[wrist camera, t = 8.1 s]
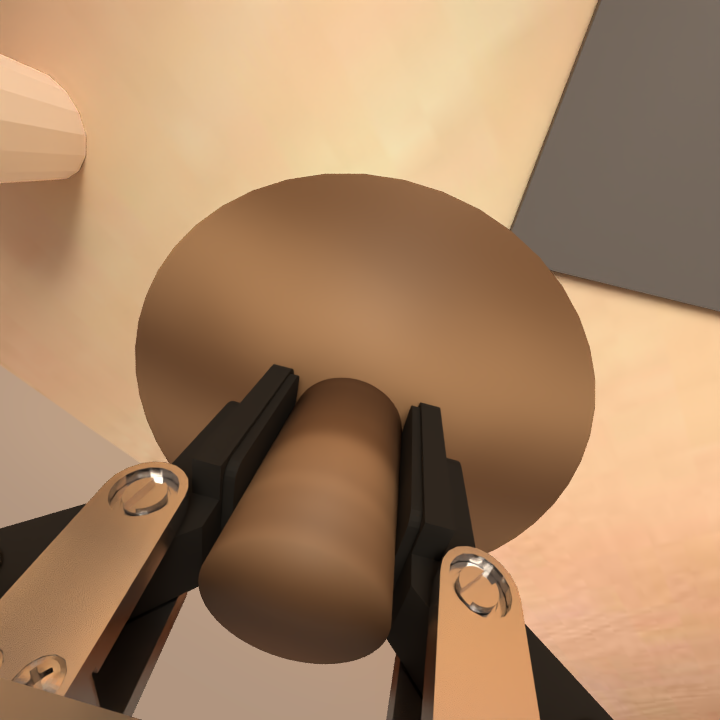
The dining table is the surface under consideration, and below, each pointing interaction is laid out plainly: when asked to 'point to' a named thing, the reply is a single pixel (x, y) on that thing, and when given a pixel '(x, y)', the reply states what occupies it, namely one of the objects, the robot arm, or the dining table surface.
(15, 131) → the white cup
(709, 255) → the mat
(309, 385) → the lid
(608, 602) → the dining table surface
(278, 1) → the dining table surface
